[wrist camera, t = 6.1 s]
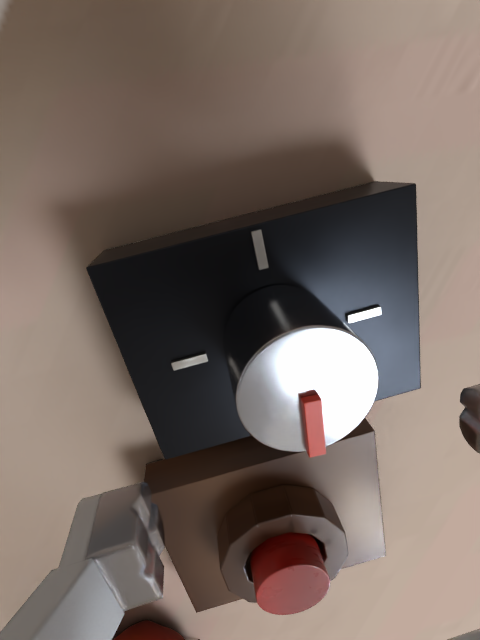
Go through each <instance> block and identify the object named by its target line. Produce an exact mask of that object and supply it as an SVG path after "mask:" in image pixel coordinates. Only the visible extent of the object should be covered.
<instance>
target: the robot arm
mask: <svg viewBox="0 0 480 640" xmlns="http://www.w3.org/2000/svg"><path fill="white" fill-rule="evenodd" d="M460 402H461V403H462V404H463V405H464V406H465V409H464V410H463V412H462V413H461V415H460V429H461V431H462V434H463V436H464V438H465V439H466V441H467V442H468V444H469V445H470V446H471V447H472V448H473V449H474V450H475V451H476V452H478V453H480V384H478V385H474V386H471V387H468V388H464V389H463V391H462V392H461V396H460ZM151 498H152V492H151V490H150V488H149V486H148V484H147V483H146V482H142V483H138V484H134V485H130V486H127V487H123V488H119V489H115V490H111V491H108V492H104V493H102V494H98V495H95V496H91V497H87V498H83V499H82V500H81V501H80V502H79V503H78V505H77V508H76V512H75V515H74V518H73V522H72V525H71V528H70V532H69V535H68V538H67V541H66V545H65V548H64V551H63V555H62V558H61V561H60V565H59V568H57V569H54V570H51V572H50V573H49V574H48V575H47V576H46V578H45V579H44V580H43V581H42V582H41V584H40V585H39V586H38V587H37V588H36V590H35V591H34V592H33V593H32V594H31V596H30V597H29V598H28V599H27V601H26V602H25V603H24V604H23V605H22V607H21V608H20V609H19V610H18V611H17V613H16V614H15V615H14V616H13V617H12V619H11V620H10V621H9V622H8V623H7V625H6V626H5V627H4V628H3V630H2V631H1V632H0V640H112V638H113V636H114V634H115V632H116V630H117V628H118V626H119V624H120V622H121V620H122V618H123V616H124V612H123V611H126V610H129V609H132V608H135V607H138V606H141V605H144V604H147V603H149V602H152V601H155V600H158V599H161V598H163V577H164V566H163V564H162V562H161V559H160V557H159V556H160V554H161V552H162V551H163V549H164V548H165V534H164V525H163V520H162V516H161V512H160V510H159V508H158V505H156V504H154V503H152V502H151ZM447 640H480V629H477V630H474V631H471V632H468V633H465V634H462V635H459V636H456V637H453V638H450V639H447Z"/></svg>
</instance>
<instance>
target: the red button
mask: <svg viewBox="0 0 480 640" xmlns="http://www.w3.org/2000/svg"><path fill="white" fill-rule="evenodd" d="M250 566H251V572H252V578H253V584H254V590H255V596H256V601H257V603H258V605H259V606H260V607H261V608H262V609H263V610H265V611H267V612H269V613H272V614H278V615H288V614H294V613H298V612H301V611H304V610H307V609H309V608H311V607H312V606H314V605H316V604H317V603H318V602H319V601H321V600H322V599H323V598H324V596H325V595H326V594H327V592H328V590H329V587H330V578H329V575H328V572H327V569H326V567H325V564H324V561H323V558H322V555H321V553H320V550H319V547H318V544H317V542H316V540H315V539H314V538H313V537H312V536H311V535H309V534H304V533H293V532H289V533H285V534H282V535H279V536H275V537H272V538H268V539H267V540H266V541H264V542H263V543H262V544H260V545H259V546H258V547H256V548H255V549H254V550H253V551H252V554H251V557H250Z"/></svg>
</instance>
